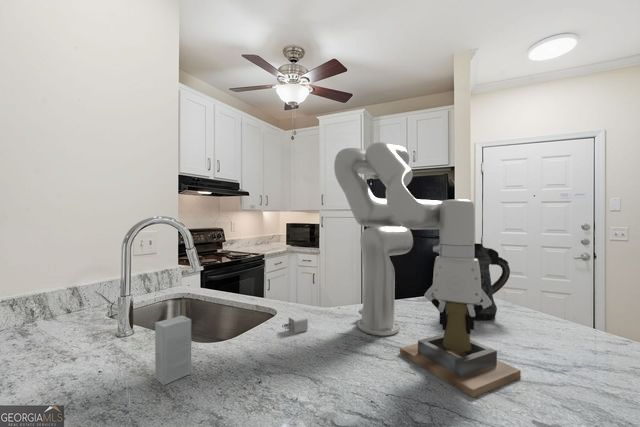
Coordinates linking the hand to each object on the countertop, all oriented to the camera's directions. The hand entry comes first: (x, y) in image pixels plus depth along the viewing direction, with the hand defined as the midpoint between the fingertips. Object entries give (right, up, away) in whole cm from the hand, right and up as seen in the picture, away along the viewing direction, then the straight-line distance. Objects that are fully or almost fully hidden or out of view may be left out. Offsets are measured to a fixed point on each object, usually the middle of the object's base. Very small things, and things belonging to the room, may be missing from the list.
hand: (456, 329), depth 70 cm
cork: (0, -4, 0) cm, 4 cm away
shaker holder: (0, -8, 0) cm, 8 cm away
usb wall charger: (-40, -8, +19) cm, 45 cm away
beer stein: (+23, -9, +37) cm, 45 cm away
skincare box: (-64, -8, -6) cm, 64 cm away
